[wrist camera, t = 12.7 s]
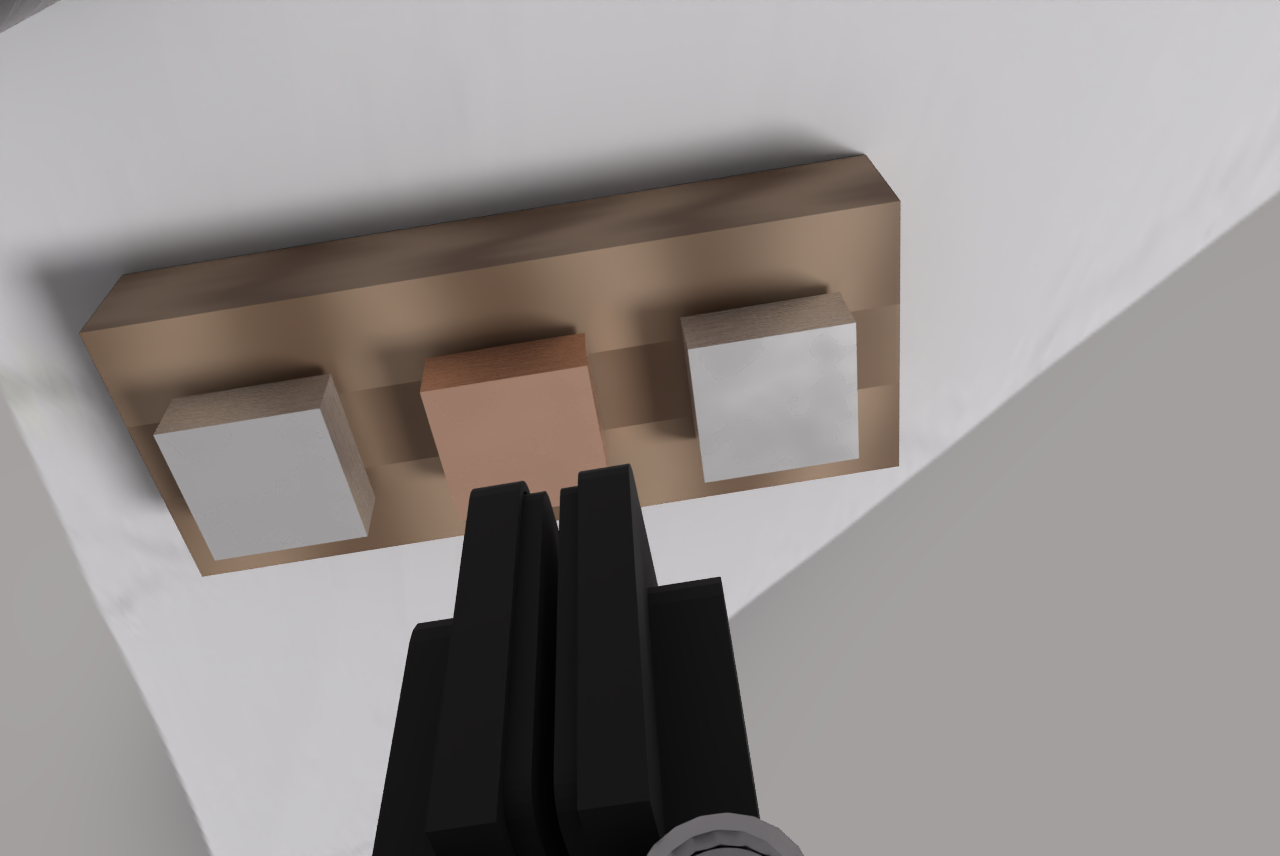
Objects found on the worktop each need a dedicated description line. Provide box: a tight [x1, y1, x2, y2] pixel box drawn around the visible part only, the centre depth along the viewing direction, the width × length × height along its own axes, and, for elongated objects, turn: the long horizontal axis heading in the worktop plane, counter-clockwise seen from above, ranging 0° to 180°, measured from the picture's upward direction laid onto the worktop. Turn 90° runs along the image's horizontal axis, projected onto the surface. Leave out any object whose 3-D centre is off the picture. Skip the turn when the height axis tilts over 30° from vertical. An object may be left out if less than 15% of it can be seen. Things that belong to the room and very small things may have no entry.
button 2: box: [680, 292, 859, 483], centre depth 35 cm, size 5×5×6 cm
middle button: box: [420, 333, 610, 522], centre depth 35 cm, size 5×5×6 cm
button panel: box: [79, 155, 900, 577], centre depth 36 cm, size 25×10×4 cm, turn 98°
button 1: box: [153, 374, 375, 561], centre depth 35 cm, size 5×5×6 cm
